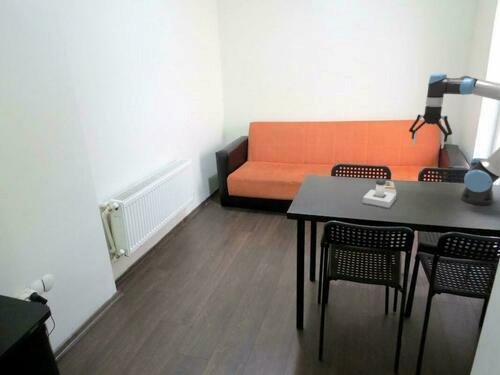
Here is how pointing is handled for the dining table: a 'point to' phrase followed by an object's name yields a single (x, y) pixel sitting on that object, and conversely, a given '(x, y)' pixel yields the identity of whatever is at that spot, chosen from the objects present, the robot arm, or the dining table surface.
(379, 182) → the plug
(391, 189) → the electrical outlet
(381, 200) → the socket block
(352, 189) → the dining table surface
